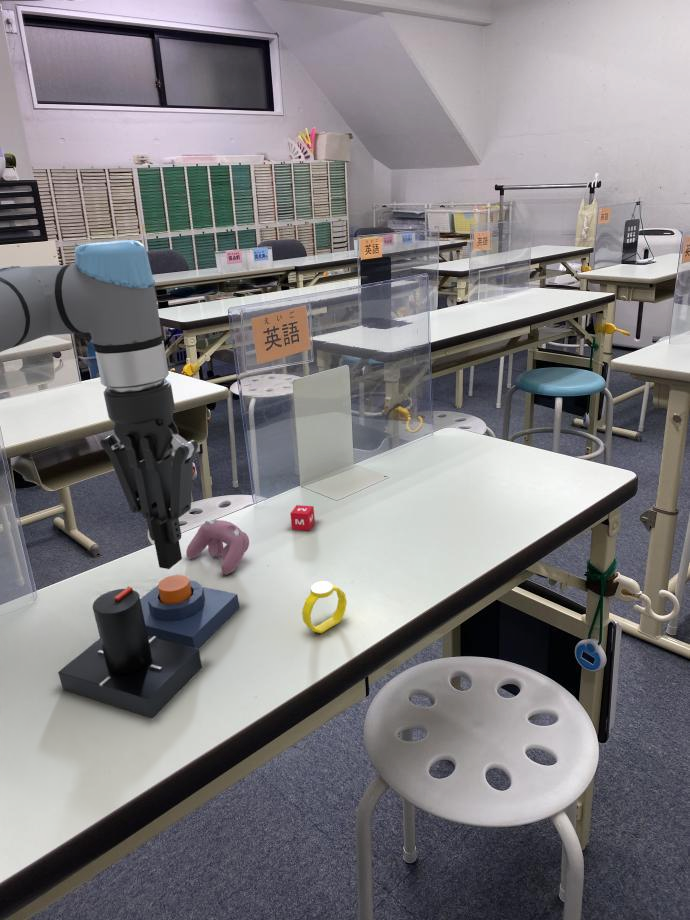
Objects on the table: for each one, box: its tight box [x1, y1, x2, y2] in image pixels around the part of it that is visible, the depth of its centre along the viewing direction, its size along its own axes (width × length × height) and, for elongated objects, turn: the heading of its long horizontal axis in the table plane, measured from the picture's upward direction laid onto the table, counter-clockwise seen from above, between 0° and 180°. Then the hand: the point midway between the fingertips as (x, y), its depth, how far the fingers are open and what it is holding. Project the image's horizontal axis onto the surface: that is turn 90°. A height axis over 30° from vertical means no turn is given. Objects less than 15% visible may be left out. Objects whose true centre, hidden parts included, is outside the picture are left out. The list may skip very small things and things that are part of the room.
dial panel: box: [57, 636, 203, 719], centre depth 79 cm, size 13×9×3 cm
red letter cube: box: [290, 504, 316, 531], centre depth 112 cm, size 3×3×3 cm
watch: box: [301, 580, 348, 634], centre depth 85 cm, size 6×3×6 cm, turn 129°
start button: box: [157, 574, 192, 604], centre depth 88 cm, size 4×4×2 cm
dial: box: [92, 586, 151, 674], centre depth 77 cm, size 5×5×8 cm
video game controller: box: [186, 519, 250, 576], centre depth 103 cm, size 10×5×7 cm, turn 49°
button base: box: [140, 579, 240, 649], centre depth 89 cm, size 12×10×4 cm
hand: (170, 562), depth 87 cm, fingers closed
